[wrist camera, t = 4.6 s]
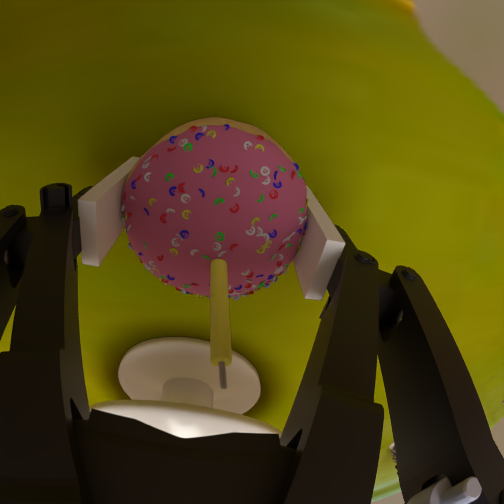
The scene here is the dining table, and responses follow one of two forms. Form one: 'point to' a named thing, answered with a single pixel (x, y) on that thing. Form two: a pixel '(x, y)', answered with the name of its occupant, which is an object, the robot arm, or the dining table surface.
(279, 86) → the dining table surface
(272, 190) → the cupcake
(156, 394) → the cake stand
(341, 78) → the dining table surface
